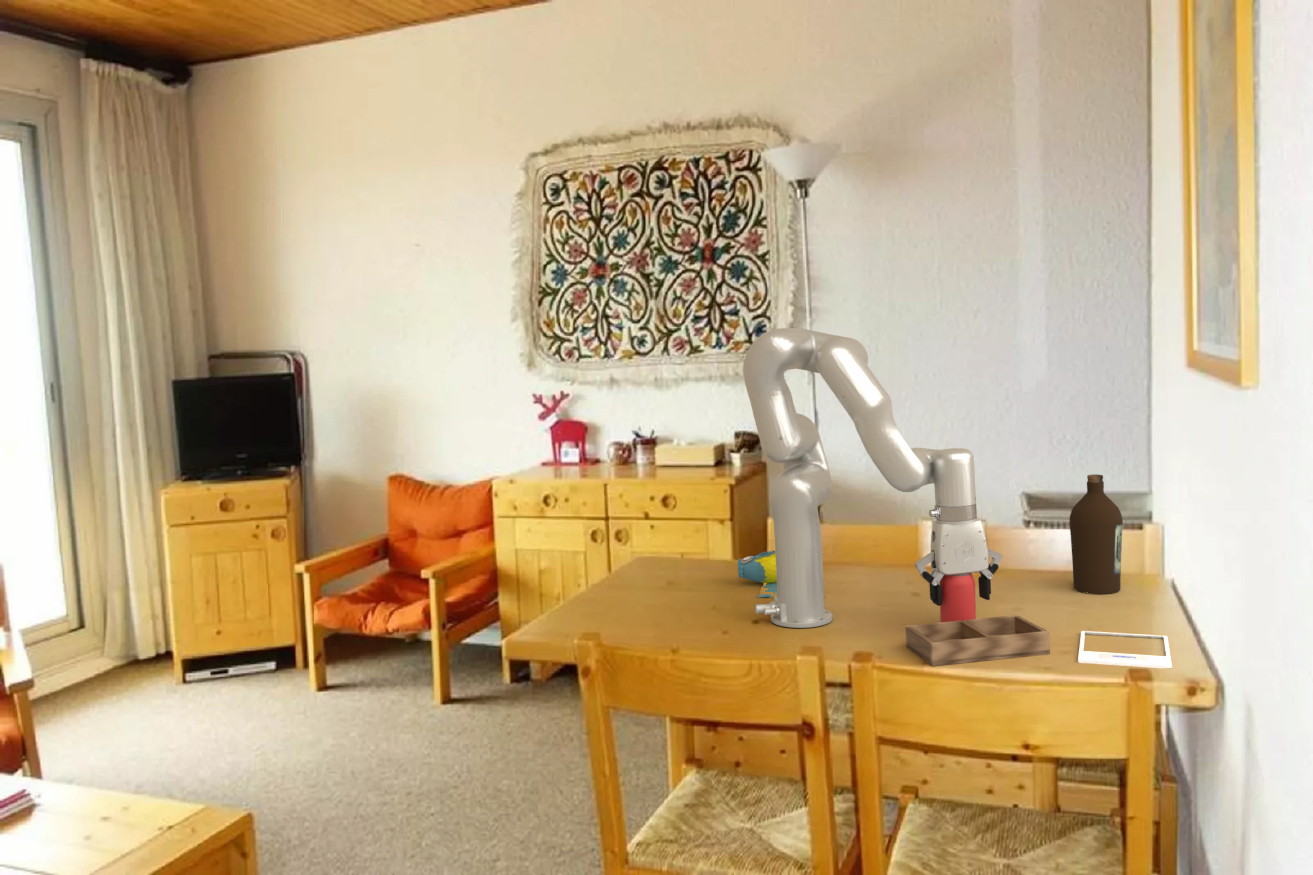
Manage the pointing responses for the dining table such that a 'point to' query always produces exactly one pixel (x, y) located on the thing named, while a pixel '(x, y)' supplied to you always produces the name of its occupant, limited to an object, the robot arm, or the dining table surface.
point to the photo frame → (1124, 658)
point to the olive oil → (1096, 541)
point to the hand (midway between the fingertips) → (960, 601)
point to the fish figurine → (760, 570)
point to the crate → (977, 640)
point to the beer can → (957, 598)
